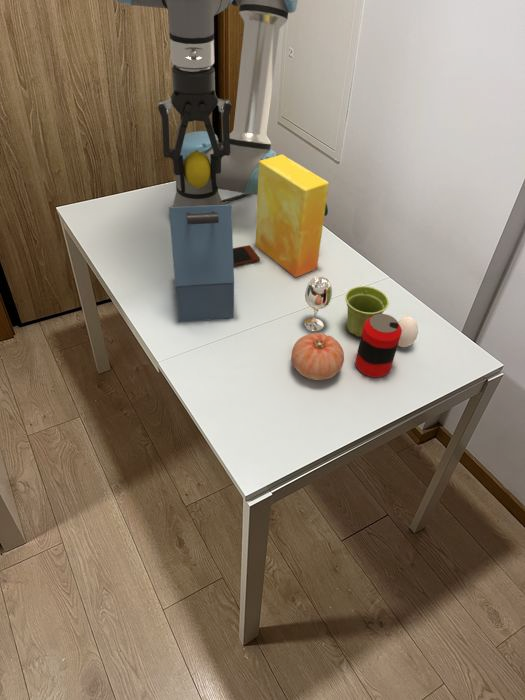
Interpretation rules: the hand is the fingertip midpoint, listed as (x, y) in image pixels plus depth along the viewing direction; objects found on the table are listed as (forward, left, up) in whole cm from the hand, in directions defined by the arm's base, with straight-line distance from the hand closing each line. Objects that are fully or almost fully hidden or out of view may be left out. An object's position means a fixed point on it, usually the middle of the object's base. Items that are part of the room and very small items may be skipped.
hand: (198, 188), depth 109 cm
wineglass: (-15, +24, -28) cm, 39 cm away
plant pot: (-23, +31, -28) cm, 47 cm away
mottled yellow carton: (-29, -1, -28) cm, 40 cm away
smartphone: (-13, -8, -28) cm, 32 cm away
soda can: (-17, +41, -28) cm, 52 cm away
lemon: (0, 0, 0) cm, 1 cm away
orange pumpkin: (-6, +35, -28) cm, 45 cm away
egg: (-27, +40, -28) cm, 55 cm away
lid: (+3, +6, -10) cm, 12 cm away
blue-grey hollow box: (+1, +2, -28) cm, 28 cm away
